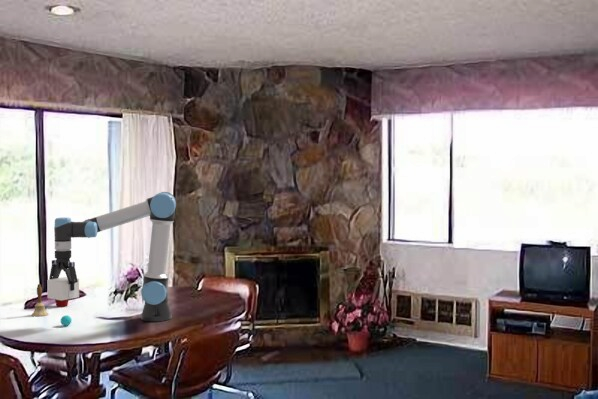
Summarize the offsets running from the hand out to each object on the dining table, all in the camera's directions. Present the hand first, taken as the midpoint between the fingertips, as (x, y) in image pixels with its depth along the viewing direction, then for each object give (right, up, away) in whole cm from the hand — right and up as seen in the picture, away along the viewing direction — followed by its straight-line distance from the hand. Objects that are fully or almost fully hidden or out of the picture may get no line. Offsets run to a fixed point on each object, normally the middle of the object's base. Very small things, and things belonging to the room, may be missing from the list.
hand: (63, 296), depth 334 cm
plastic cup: (-17, -12, +48) cm, 53 cm away
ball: (+1, -12, +2) cm, 12 cm away
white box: (0, -1, 0) cm, 1 cm away
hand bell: (-21, -14, +26) cm, 36 cm away
